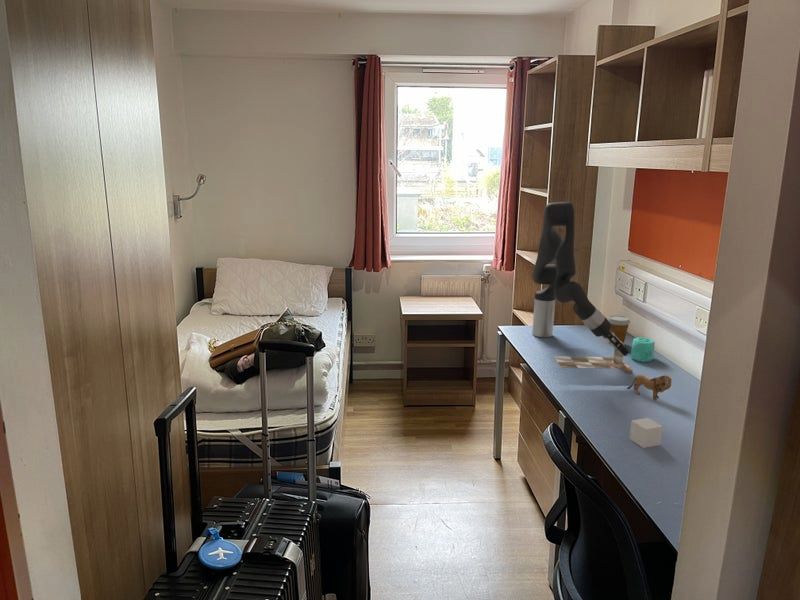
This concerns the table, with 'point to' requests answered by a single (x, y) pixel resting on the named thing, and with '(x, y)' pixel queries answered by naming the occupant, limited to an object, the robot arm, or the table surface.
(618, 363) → the pawn
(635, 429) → the beige cube
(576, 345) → the table surface
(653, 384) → the lion figurine
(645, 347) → the decorative dice
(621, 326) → the disposable coffee cup
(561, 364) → the board
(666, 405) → the table surface
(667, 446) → the table surface
